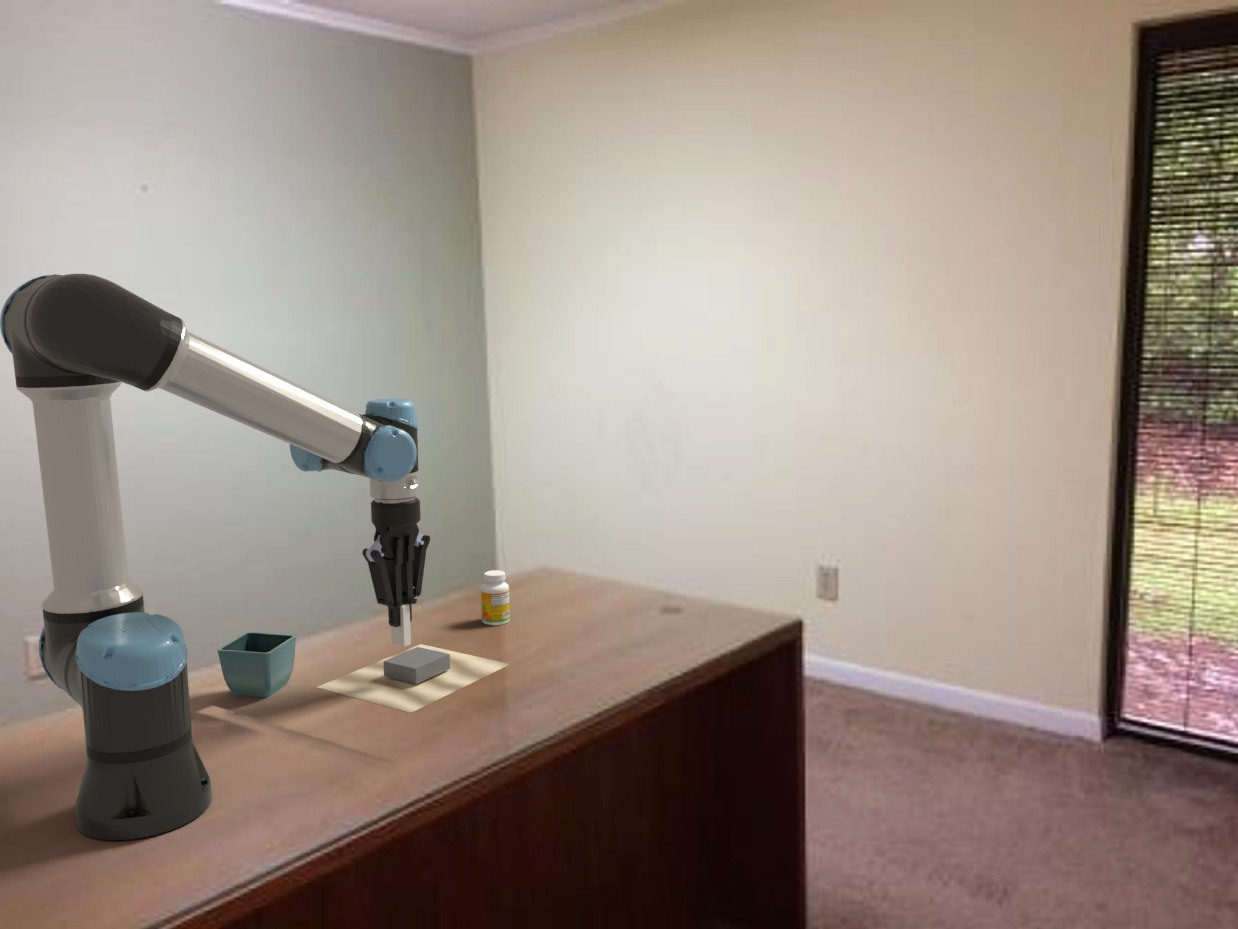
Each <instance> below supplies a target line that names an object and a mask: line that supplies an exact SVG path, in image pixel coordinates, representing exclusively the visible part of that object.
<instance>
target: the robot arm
mask: <svg viewBox="0 0 1238 929" xmlns="http://www.w3.org/2000/svg"><path fill="white" fill-rule="evenodd" d="M0 334H1V336H2V338H3V342H4V344H5V345H6V348H7V349H8V351H9V352H10V354H12V362H13V363H12V364H13V370H14V378H15V385H16V390H17V391H19V392H20V393H21V394H23V395H24V396H25V397H27V398H28V399H29V401H31V403H32V408H33V410H32V411H33V417H34V427H35V435H36V443H37V453H38V462H39V470H40V479H41V486H42V487H41V488H42V489H41V490H42V496H43V505H44V514H45V521H46V522H45V524H46V529H47V539H48V546H49V547H48V548H49V549H48V550H49V556H50V565H51V573H52V583H53V589H52V591H51V592H50V593H49V595H48V596H46V598H45V599H44V600H43V602H42V603H41V608H42V616H43V617H42V618H43V619H42V620H43V627H42V630H41V632H40V635H39V640H38V655H39V659H40V663H41V666H42V668H43V670H44V672H45V675H46V676H47V677H48V678H49V680H50V681H51V682H53V684H54V685H56V686H57V687H58V688H59V689H61V690H63V691H64V692H65V693H66V694H67V695H68V696H70V698H72V699H73V700H74V701H75V702H76V703H77V704H78V705H79V706H80V707H81V710H82V711H81V712H82V718H83V728H84V738H85V739H84V740H85V748H86V749H85V750H86V764H85V767H84V770H83V771H84V772H83V774H82V778H81V782H80V788H79V791H78V796H77V799H76V802H75V820H76V821H75V822H76V826H77V829H78V831H80V833H82V834H84V835H86V836H87V837H90V838H93V839H97V840H105V841H127V840H129V841H130V840H137V839H142V838H148V837H149V838H150V837H152V836H156V835H160V834H164V833H168V832H169V831H173V830H175V829H178V828H179V827H182V826H184V825H186V824H188V823H191V822H192V821H194V820H196V819H197V818H198V817H199V816H201V815H202V814H203V813H204V812H205V811H207V809H208V808H210V805H211V803H212V800H213V793H212V792H213V791H212V790H213V789H212V781H211V777H210V776H209V774H208V771H207V768H206V767H205V765H204V763H203V761H202V759H201V756H200V754H199V752H198V749H197V748H196V745H195V743H194V741H193V740H194V739H193V732H192V731H193V730H192V720H191V719H192V718H191V705H190V704H191V701H190V692H189V690H190V688H189V677H188V662H187V661H188V648H187V644H186V642H185V637H184V632H183V630H182V628H181V626H180V625H179V623H177V622H176V620H173V619H172V618H170V617H169V616H165V615H162V614H158V613H156V614H150V613H149V612H146V611H145V601H144V593H143V592H144V591H143V589H142V588H141V587H139V586H138V585H137V584H135V583H134V582H132V581H131V579H130V578H129V570H128V561H127V552H126V541H125V531H124V530H125V529H124V523H123V512H122V503H121V492H120V484H119V472H118V464H117V463H118V462H117V453H116V444H115V443H116V442H115V432H114V425H113V412H112V403H111V397H112V395H113V393H114V392H116V391H117V389H118V388H119V387H120V386H121V385H122V383H123V384H126V385H129V386H132V387H134V388H136V389H138V390H142V391H144V392H151V391H154V390H157V389H161V390H163V391H165V392H168V393H170V394H172V395H174V396H177V397H179V398H182V399H183V400H186V401H188V402H190V403H193V404H196V405H198V406H200V407H203V408H205V409H207V410H210V411H212V412H215V413H217V414H219V415H222V416H223V417H226V418H228V419H230V420H232V421H233V420H234V421H236V422H238V423H240V424H243V425H245V426H247V427H250V428H252V429H254V430H257V431H259V432H261V433H263V434H266V435H269V436H270V437H273V438H275V439H277V440H280V441H283V442H285V443H287V444H289V452H290V456H291V459H292V461H293V463H294V465H295V466H296V468H298V469H299V470H300V471H302V472H318V473H319V472H322V471H327V470H328V471H329V470H333V471H338V472H343V473H347V474H351V475H357V476H361V477H364V478H368V479H369V494H370V495H369V497H370V498H372V499H373V500H372V501H371V502H370V514H371V515H370V516H371V517H370V518H371V523H372V525H373V526H374V528H375V533H374V535H373V543H372V545H371V546H370V547H369V548H366V547H365V548H363V549H362V552H361V553H362V556H363V557H364V559H365V561H366V563H367V566H368V570H369V573H370V578H371V582H372V586H373V590H374V595H375V598H376V603H377V604H378V605H381V606H386V607H387V608H388V609H387V610H388V611H387V612H388V613H387V614H388V624H389V626H390V627H391V628H390V629H391V630H390V631H391V644H392V645H395V646H400V647H408V646H410V645H412V634H411V633H412V632H411V630H412V629H411V622H412V619H413V615H412V612H413V610H412V608H413V607H412V604H413V605H415V604H416V603H417V602H418V598H417V597H420V596H421V594H422V589H423V582H424V581H423V578H424V573H425V572H424V571H425V566H426V565H425V563H426V556H427V550H428V547H429V545H430V542H431V536H430V535H428V534H427V535H426V534H422V533H421V532H420V529H419V525H418V523H419V522H420V521H421V519H422V518H421V517H422V516H421V500H420V499H419V498H418V496H419V495H420V479H419V478H420V477H419V476H420V475H419V445H418V444H419V443H418V441H419V440H418V430H419V426H418V418H417V412H416V410H417V409H416V405H415V404H414V402H413V401H412V400H410V399H406V398H379V399H378V398H377V399H371V400H369V401H367V403H366V405H365V406H366V407H365V411H364V414H360V413H358V412H357V411H355V410H353V409H351V408H349V407H346V406H344V405H342V404H340V403H339V402H336V401H334V400H332V399H329V398H327V397H325V396H324V395H321V394H319V393H318V392H315V391H314V390H311V389H309V388H307V387H305V386H302V385H301V384H298V383H297V382H294V381H293V380H290V379H288V378H286V377H284V376H282V375H279V374H277V372H276V373H275V372H273V371H271V370H269V369H267V368H265V367H263V366H260V365H258V364H257V363H255V362H252V361H251V360H249V359H246V358H244V357H242V356H240V355H237V353H234V352H232V351H230V350H227V349H225V348H224V347H223V348H222V347H221V346H219V345H217V344H215V343H213V342H210V341H208V340H206V339H204V338H202V337H201V336H198V335H196V334H194V333H192V332H190V331H188V328H187V327H186V324H185V321H184V320H183V319H182V317H181V318H180V317H178V316H176V315H175V314H173V313H170V312H168V311H166V310H164V309H163V308H160V307H159V306H158V305H155V304H154V303H151V302H150V301H148V300H145V299H144V298H143V297H141V296H139V295H138V294H135V293H134V292H132V291H129V289H127V288H124V287H122V286H121V285H119V284H117V283H115V282H113V281H111V280H109V279H107V278H104V277H100V276H97V275H95V274H89V273H69V274H64V275H62V274H56V273H54V274H46V275H45V274H44V275H40V276H38V277H35V278H32V279H29V280H27V281H26V282H24V283H22V284H21V285H20V286H18V287H17V288H16V289H15V290H13V291H12V293H11V294H9V295H8V297H7V299H6V301H5V302H4V303H3V306H2V309H1V312H0Z"/></svg>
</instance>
